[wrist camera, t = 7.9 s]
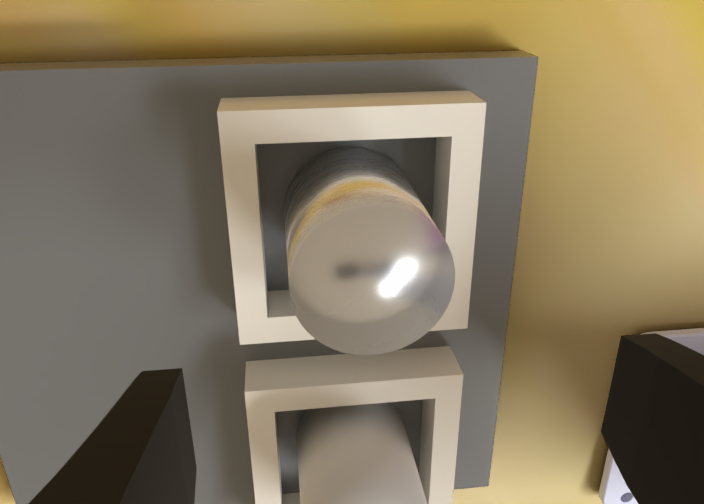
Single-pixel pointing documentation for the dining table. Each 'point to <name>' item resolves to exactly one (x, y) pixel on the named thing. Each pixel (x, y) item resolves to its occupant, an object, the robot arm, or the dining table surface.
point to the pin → (363, 254)
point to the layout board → (251, 265)
